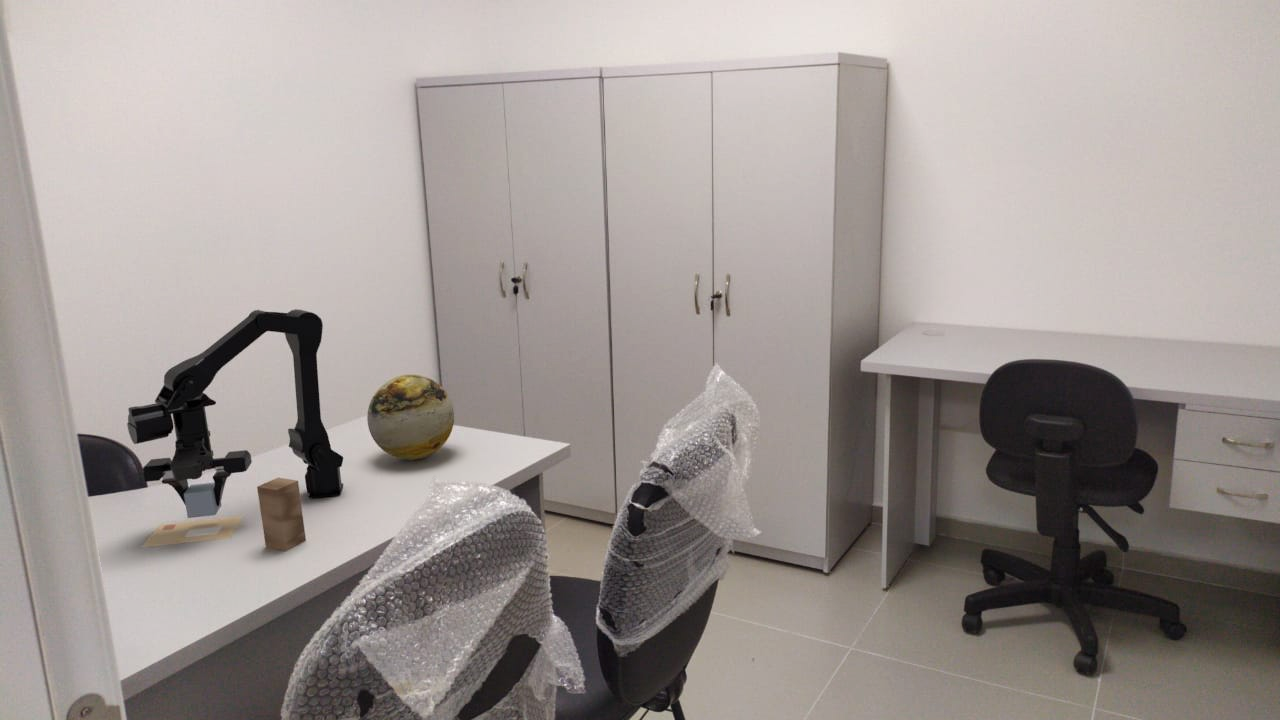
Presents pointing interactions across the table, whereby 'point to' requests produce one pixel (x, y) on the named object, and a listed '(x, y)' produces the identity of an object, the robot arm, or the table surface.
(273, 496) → the walnut block
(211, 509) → the slate-blue cube
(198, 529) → the kraft envelope
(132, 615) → the table surface
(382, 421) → the decorative sphere
